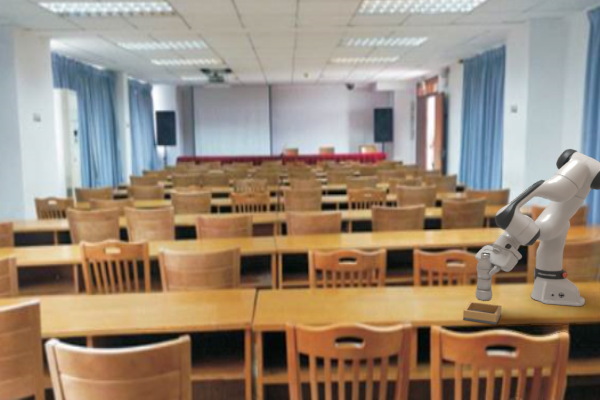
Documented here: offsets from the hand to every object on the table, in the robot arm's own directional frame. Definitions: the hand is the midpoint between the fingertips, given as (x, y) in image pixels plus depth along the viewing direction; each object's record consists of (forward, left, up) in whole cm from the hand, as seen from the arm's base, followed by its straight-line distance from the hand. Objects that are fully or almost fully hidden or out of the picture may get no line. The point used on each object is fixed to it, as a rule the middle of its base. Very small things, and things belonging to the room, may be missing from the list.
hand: (483, 273), depth 227 cm
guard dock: (0, -1, -19) cm, 19 cm away
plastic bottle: (0, 0, -12) cm, 12 cm away
